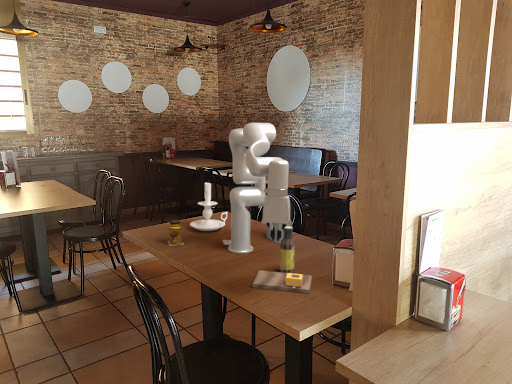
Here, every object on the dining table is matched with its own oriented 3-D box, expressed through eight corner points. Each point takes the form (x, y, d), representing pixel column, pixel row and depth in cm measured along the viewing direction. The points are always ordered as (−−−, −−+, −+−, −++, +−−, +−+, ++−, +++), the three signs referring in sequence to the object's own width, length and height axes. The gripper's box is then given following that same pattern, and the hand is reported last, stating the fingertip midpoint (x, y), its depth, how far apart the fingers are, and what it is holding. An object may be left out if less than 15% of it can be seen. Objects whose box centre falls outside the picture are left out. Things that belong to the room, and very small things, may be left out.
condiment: (169, 246, 197) (169, 223, 195) (166, 241, 205) (166, 219, 203) (184, 244, 200) (184, 222, 198) (180, 240, 208) (180, 218, 205)
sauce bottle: (295, 274, 165) (297, 229, 162) (281, 275, 164) (283, 229, 160) (291, 268, 171) (293, 224, 168) (277, 269, 170) (279, 225, 166)
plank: (252, 287, 151) (252, 283, 151) (259, 273, 165) (259, 270, 165) (309, 293, 147) (309, 289, 147) (311, 279, 161) (311, 275, 160)
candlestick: (237, 229, 231) (238, 182, 225) (201, 236, 215) (201, 186, 210) (218, 221, 246) (218, 177, 241) (183, 227, 231) (183, 181, 225)
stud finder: (285, 285, 150) (285, 277, 149) (287, 280, 154) (287, 272, 154) (301, 286, 148) (301, 279, 148) (302, 281, 153) (302, 274, 153)
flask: (264, 236, 217) (265, 192, 213) (271, 235, 220) (272, 192, 215) (281, 245, 203) (283, 198, 198) (288, 244, 205) (290, 197, 200)
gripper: (255, 193, 144) (254, 240, 148) (297, 195, 141) (295, 244, 145) (259, 189, 151) (257, 235, 155) (299, 192, 149) (296, 238, 152)
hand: (275, 239), depth 150 cm, fingers closed
